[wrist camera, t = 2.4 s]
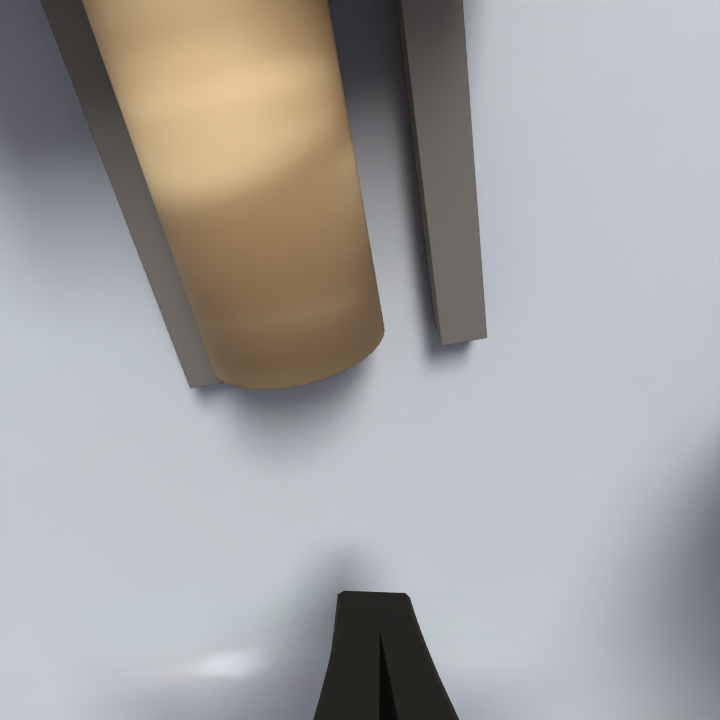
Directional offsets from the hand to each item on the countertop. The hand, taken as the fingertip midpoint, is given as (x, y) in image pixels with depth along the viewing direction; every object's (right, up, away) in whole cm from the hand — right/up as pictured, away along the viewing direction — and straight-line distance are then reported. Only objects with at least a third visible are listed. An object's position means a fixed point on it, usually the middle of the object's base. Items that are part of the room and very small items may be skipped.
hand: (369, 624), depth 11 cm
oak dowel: (-2, +10, 0) cm, 10 cm away
